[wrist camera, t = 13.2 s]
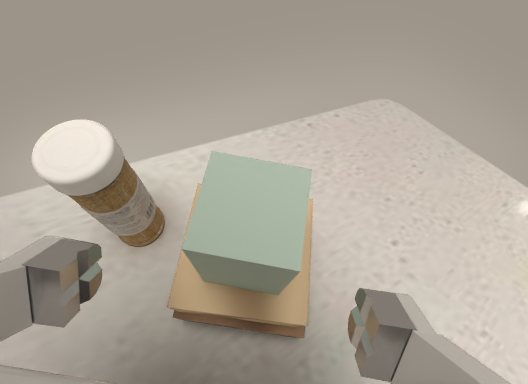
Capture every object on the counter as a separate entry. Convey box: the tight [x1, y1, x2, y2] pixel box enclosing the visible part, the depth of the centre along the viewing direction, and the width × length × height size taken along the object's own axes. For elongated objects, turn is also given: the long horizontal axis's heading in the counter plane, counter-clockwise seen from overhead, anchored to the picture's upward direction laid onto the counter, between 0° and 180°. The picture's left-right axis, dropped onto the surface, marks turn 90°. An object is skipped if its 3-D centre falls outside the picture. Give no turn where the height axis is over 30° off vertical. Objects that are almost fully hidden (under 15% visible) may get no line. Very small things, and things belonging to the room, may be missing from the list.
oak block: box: [167, 183, 313, 327], centre depth 22 cm, size 9×9×4 cm
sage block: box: [182, 151, 312, 295], centre depth 17 cm, size 5×5×8 cm
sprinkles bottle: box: [32, 120, 164, 246], centre depth 23 cm, size 5×5×13 cm
